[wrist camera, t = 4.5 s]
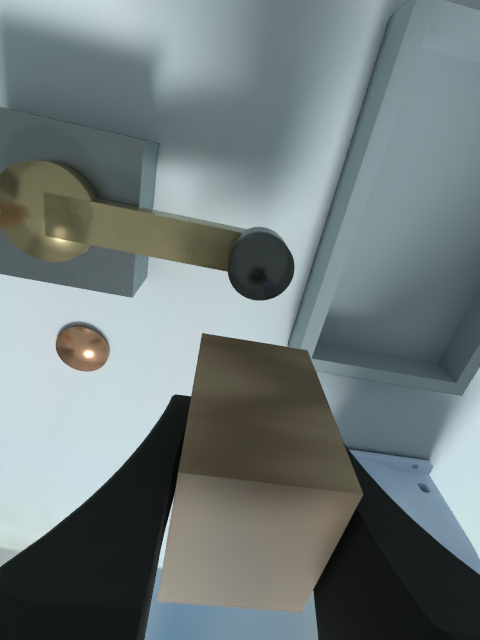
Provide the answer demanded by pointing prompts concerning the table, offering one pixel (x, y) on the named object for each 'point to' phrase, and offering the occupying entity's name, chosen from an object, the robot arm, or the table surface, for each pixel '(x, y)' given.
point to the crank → (132, 230)
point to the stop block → (256, 481)
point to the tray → (406, 216)
